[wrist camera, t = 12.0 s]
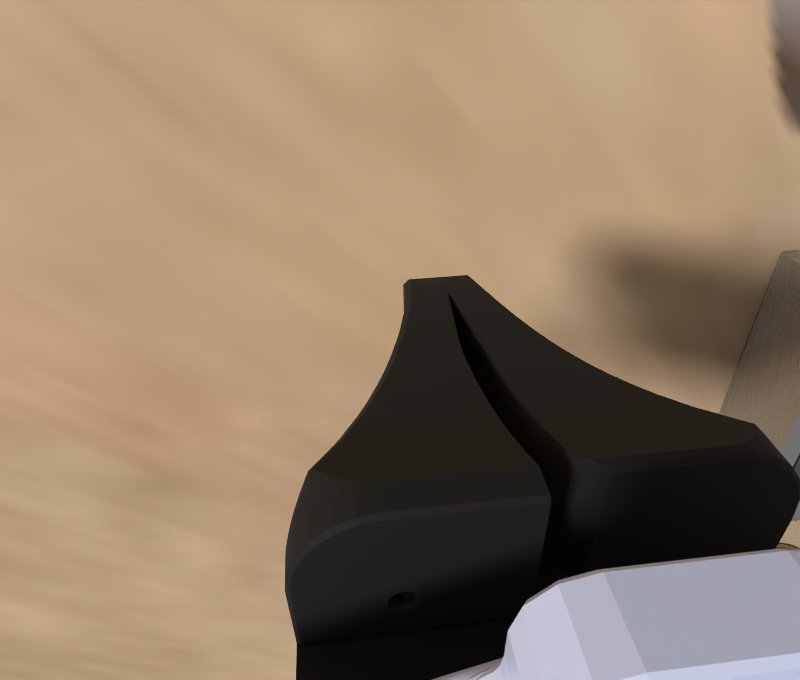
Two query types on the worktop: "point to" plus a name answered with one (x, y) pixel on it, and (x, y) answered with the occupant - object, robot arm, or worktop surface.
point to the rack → (773, 366)
